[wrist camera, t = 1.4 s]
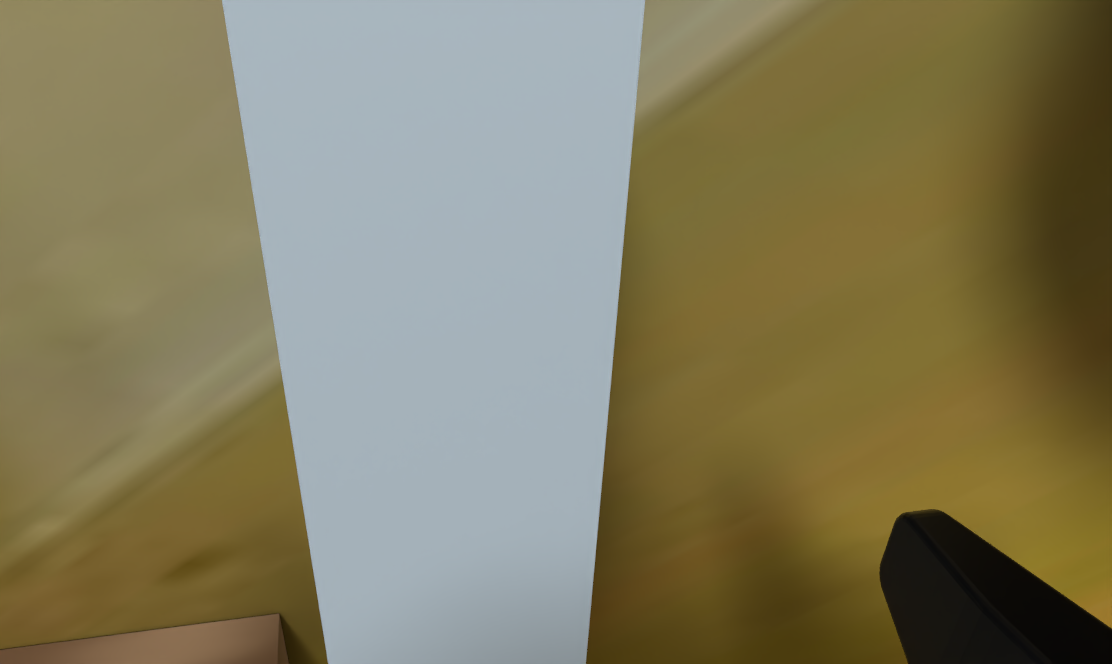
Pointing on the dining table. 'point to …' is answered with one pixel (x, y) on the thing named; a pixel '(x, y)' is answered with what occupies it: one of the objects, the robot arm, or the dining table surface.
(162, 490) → the dining table surface
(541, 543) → the light blue rectangular panel
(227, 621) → the brown wooden block
